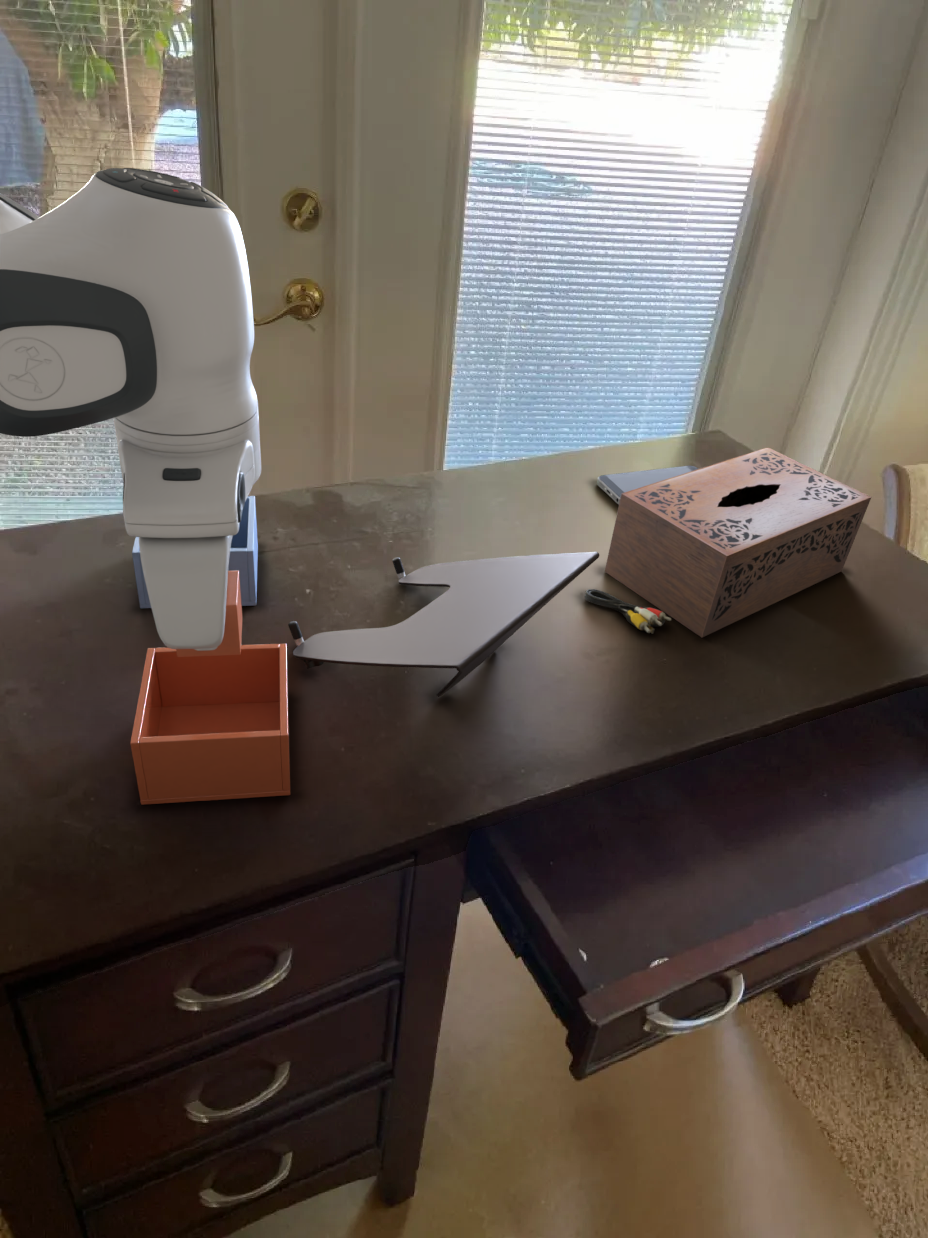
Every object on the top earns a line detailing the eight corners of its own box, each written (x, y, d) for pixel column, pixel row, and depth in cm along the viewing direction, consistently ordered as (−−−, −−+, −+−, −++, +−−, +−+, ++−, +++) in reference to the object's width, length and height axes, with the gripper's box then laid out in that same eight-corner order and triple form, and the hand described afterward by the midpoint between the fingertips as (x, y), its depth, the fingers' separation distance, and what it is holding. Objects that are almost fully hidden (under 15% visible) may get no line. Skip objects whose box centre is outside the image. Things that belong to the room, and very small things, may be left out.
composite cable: (578, 599, 96) (582, 580, 95) (608, 586, 99) (613, 567, 97) (646, 646, 90) (652, 626, 89) (677, 631, 93) (682, 611, 91)
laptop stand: (438, 620, 101) (414, 545, 97) (616, 619, 86) (594, 530, 83) (294, 725, 85) (260, 639, 82) (483, 746, 70) (449, 642, 67)
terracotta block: (177, 657, 64) (170, 606, 62) (182, 620, 68) (175, 571, 65) (240, 654, 65) (236, 604, 63) (242, 618, 69) (238, 570, 66)
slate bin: (140, 608, 88) (131, 552, 84) (152, 548, 97) (145, 495, 93) (256, 605, 90) (253, 551, 86) (257, 547, 99) (255, 495, 95)
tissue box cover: (701, 637, 92) (726, 556, 86) (604, 571, 101) (621, 493, 95) (841, 571, 106) (871, 496, 100) (745, 518, 115) (767, 447, 109)
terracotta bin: (141, 805, 68) (130, 743, 64) (156, 707, 77) (147, 647, 73) (290, 795, 70) (288, 735, 66) (288, 701, 79) (286, 643, 75)
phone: (622, 509, 113) (724, 496, 119) (624, 502, 113) (726, 489, 119) (593, 482, 119) (692, 470, 125) (595, 475, 118) (694, 464, 124)
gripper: (156, 386, 65) (176, 547, 73) (117, 528, 49) (148, 714, 57) (244, 387, 66) (254, 546, 74) (235, 526, 50) (249, 709, 58)
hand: (208, 620), depth 66 cm, fingers closed on terracotta block, 4 cm apart
